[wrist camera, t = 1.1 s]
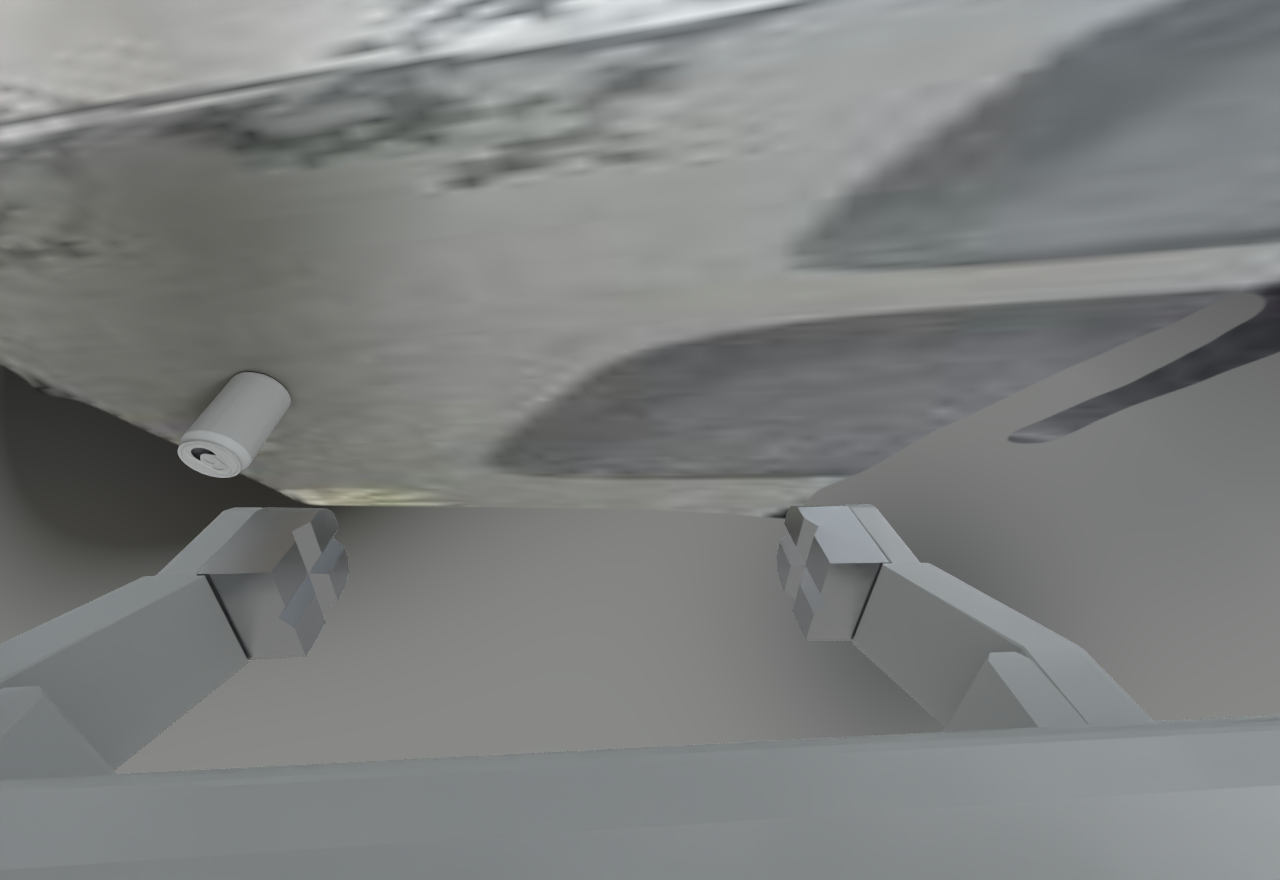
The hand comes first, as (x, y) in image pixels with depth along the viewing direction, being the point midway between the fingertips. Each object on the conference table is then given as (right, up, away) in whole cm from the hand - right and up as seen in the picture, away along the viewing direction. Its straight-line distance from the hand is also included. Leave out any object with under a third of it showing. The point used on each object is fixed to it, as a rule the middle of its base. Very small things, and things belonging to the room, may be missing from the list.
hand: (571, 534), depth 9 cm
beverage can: (-45, +8, +52) cm, 69 cm away
